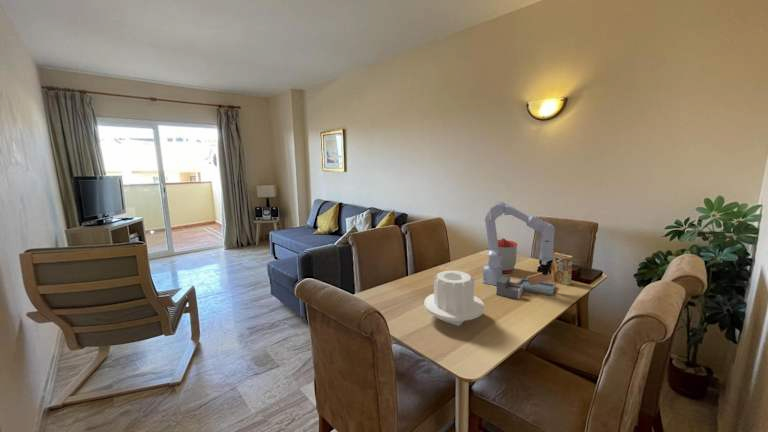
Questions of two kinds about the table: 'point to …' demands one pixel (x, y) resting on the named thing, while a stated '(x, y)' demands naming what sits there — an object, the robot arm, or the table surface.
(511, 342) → the table surface
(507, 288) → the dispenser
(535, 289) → the tray
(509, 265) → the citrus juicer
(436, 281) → the ribbed cylinder on disc
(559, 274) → the candy box
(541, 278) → the long salmon pink stick
